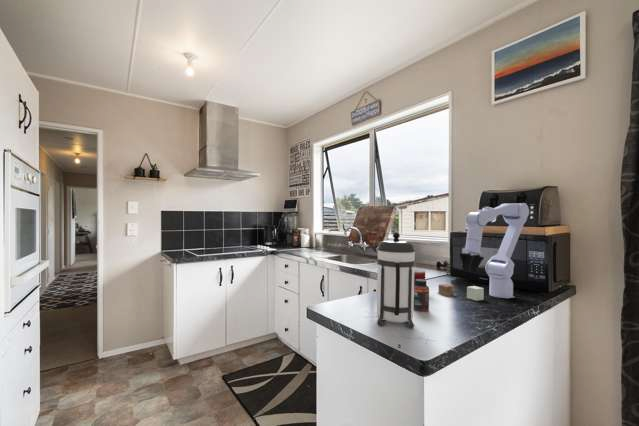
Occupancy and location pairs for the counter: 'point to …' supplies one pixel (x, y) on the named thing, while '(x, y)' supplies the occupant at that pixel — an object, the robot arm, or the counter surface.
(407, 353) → the counter surface
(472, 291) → the sage block
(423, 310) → the supplement bottle
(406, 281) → the coffee press
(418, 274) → the canned food
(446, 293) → the walnut block
